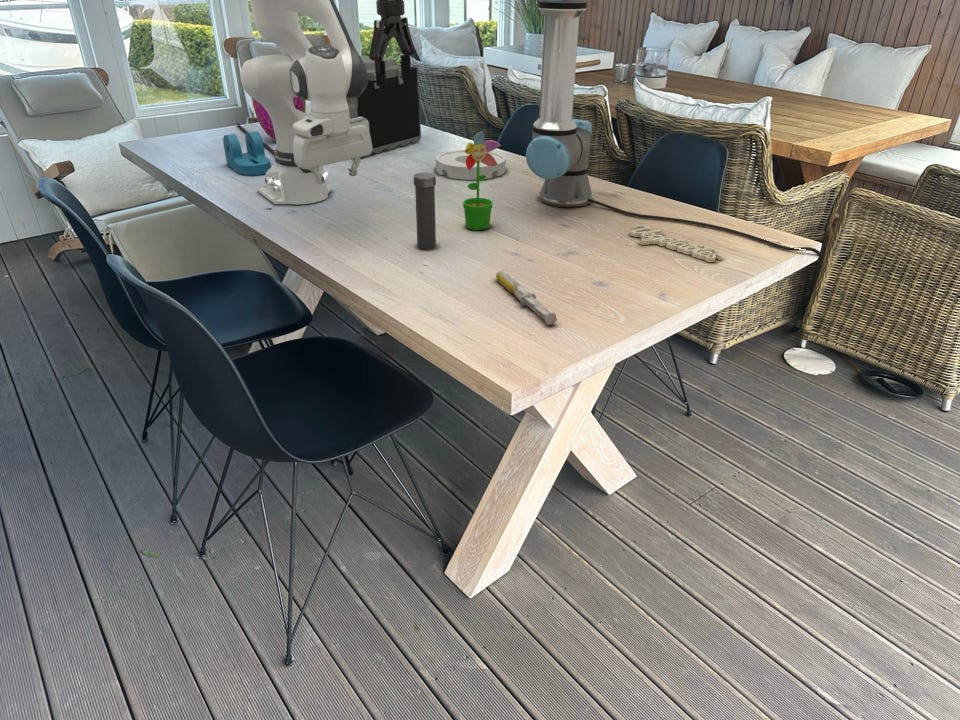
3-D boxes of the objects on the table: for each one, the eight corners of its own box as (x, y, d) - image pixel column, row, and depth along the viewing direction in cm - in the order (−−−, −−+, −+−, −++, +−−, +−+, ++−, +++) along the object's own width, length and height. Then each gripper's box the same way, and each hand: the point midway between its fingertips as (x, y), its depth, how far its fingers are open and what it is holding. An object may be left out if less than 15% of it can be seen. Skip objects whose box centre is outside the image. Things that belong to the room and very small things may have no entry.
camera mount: (227, 164, 233) (221, 132, 227) (257, 160, 238) (252, 129, 233) (244, 176, 220) (239, 143, 215) (276, 172, 225) (271, 139, 220)
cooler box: (383, 133, 276) (378, 52, 261) (425, 141, 265) (422, 56, 250) (314, 150, 251) (304, 61, 235) (358, 160, 240) (350, 67, 224)
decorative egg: (293, 132, 276) (283, 50, 261) (319, 140, 264) (310, 56, 249) (249, 139, 265) (236, 54, 250) (273, 148, 253) (261, 60, 238)
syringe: (491, 278, 153) (492, 266, 152) (507, 275, 154) (507, 264, 153) (540, 327, 133) (541, 315, 132) (557, 324, 134) (558, 312, 133)
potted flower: (469, 233, 178) (469, 134, 165) (456, 224, 184) (455, 127, 171) (501, 228, 181) (503, 130, 169) (487, 219, 187) (488, 124, 175)
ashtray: (439, 160, 240) (438, 148, 238) (505, 161, 240) (505, 150, 238) (433, 179, 220) (432, 166, 218) (505, 180, 220) (505, 168, 218)
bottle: (420, 242, 172) (418, 174, 163) (438, 244, 171) (436, 175, 163) (415, 249, 168) (412, 179, 160) (432, 250, 167) (431, 180, 159)
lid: (417, 180, 165) (417, 171, 164) (438, 182, 164) (438, 173, 163) (410, 186, 160) (410, 177, 159) (432, 188, 159) (431, 179, 158)
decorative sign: (617, 232, 177) (640, 223, 183) (616, 235, 177) (640, 227, 183) (706, 262, 160) (729, 252, 166) (705, 266, 160) (728, 255, 166)
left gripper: (360, 112, 170) (365, 167, 178) (286, 126, 158) (294, 184, 166) (375, 117, 166) (379, 173, 174) (300, 131, 154) (308, 191, 162)
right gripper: (401, -4, 196) (405, 76, 206) (351, 0, 176) (358, 88, 187) (424, -3, 193) (427, 78, 204) (376, 1, 173) (382, 90, 184)
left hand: (337, 179), depth 170 cm, fingers open, 8 cm apart
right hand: (394, 83), depth 195 cm, fingers open, 13 cm apart
